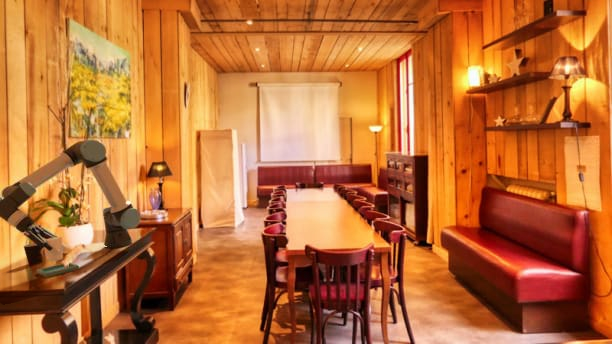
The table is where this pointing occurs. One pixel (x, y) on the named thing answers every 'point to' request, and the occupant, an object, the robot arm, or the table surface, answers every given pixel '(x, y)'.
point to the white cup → (57, 244)
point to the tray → (57, 270)
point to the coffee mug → (33, 254)
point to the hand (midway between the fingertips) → (61, 251)
